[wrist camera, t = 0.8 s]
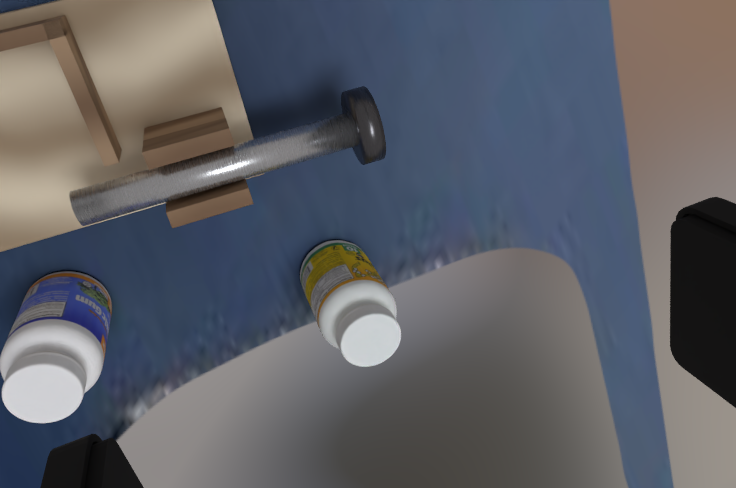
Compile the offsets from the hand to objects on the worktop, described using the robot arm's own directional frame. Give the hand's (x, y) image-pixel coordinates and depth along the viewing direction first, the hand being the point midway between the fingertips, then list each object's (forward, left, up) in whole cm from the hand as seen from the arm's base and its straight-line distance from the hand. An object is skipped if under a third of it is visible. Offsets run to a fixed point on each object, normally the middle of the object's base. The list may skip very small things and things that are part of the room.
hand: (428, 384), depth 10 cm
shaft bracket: (+1, -10, -32) cm, 34 cm away
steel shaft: (+5, -2, -29) cm, 29 cm away
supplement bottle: (+17, +3, -32) cm, 37 cm away
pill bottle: (+13, -15, -32) cm, 38 cm away
